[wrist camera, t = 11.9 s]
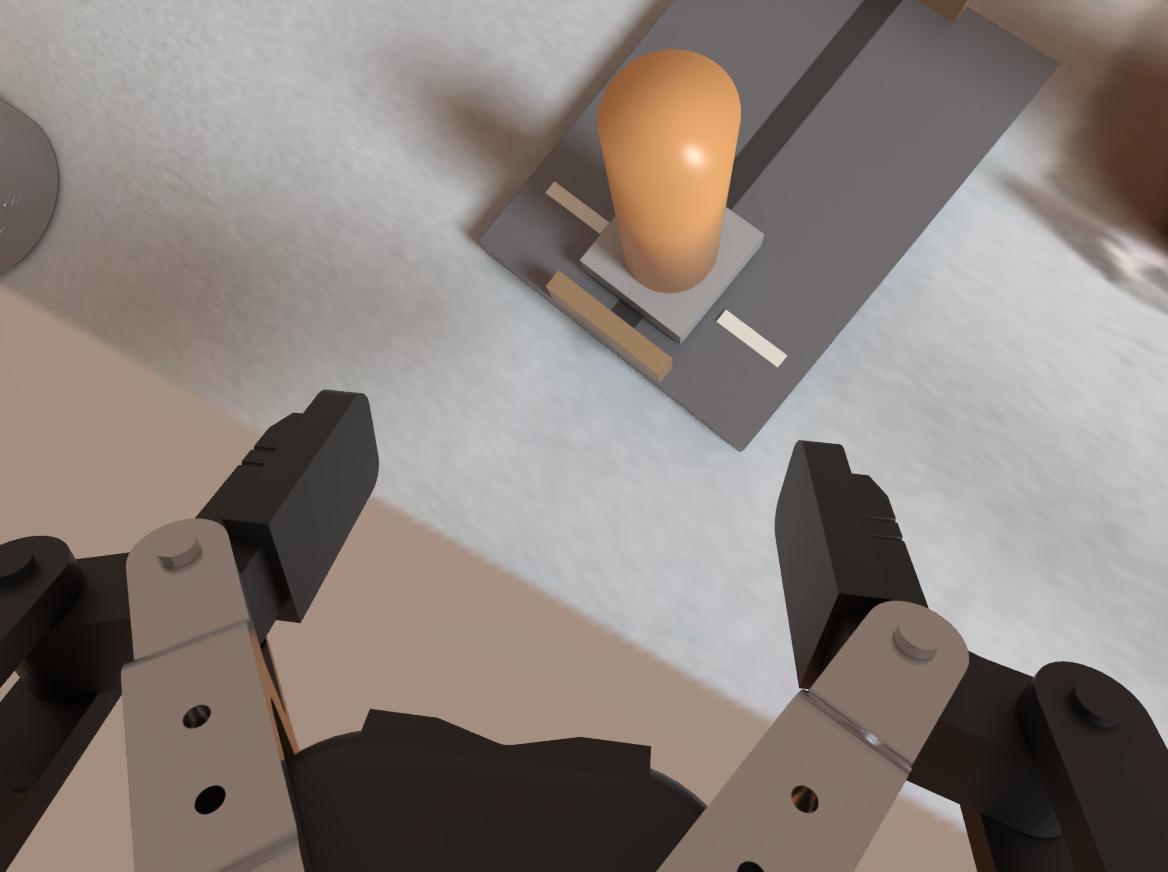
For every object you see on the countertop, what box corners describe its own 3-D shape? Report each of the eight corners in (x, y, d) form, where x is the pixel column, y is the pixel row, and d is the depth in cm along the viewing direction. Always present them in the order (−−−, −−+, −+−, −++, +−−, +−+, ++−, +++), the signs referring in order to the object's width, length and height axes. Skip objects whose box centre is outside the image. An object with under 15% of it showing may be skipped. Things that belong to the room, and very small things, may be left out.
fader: (583, 270, 28) (531, 138, 18) (661, 175, 28) (653, -13, 18) (680, 344, 27) (683, 251, 17) (760, 246, 27) (812, 92, 17)
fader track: (488, 253, 30) (465, 223, 27) (762, -85, 30) (773, -157, 27) (740, 452, 28) (749, 445, 25) (1039, 87, 28) (1088, 32, 24)
